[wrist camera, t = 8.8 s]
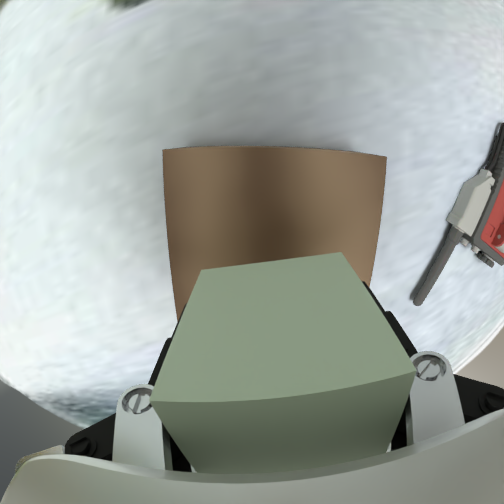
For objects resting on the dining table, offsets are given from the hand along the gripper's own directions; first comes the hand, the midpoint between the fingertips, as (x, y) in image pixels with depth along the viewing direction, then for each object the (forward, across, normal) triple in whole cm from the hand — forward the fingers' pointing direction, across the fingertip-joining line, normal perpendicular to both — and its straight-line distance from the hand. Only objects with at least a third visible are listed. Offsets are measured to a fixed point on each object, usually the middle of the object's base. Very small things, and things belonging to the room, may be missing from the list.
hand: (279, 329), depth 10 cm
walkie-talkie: (+13, -20, +1) cm, 24 cm away
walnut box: (+12, 0, 0) cm, 12 cm away
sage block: (+1, 0, 0) cm, 1 cm away
